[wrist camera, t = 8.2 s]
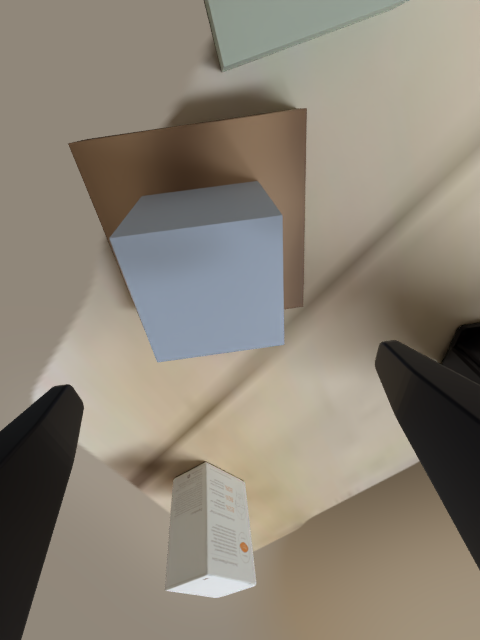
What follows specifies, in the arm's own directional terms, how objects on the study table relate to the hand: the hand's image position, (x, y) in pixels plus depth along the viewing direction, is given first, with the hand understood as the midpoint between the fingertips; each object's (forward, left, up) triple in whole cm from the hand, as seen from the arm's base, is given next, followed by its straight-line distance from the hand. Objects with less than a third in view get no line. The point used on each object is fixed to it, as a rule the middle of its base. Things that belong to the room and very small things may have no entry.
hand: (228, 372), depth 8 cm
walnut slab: (+1, 0, -13) cm, 13 cm away
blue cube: (+1, 0, -10) cm, 10 cm away
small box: (+5, +32, -12) cm, 35 cm away
